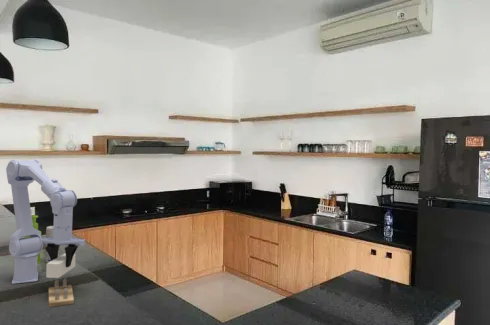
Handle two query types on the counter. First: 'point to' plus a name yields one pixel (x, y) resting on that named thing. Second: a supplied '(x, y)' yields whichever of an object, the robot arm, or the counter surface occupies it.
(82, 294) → the counter surface
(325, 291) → the counter surface
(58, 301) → the peg stand
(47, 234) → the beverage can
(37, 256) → the soap dispenser
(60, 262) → the white rectangular block
